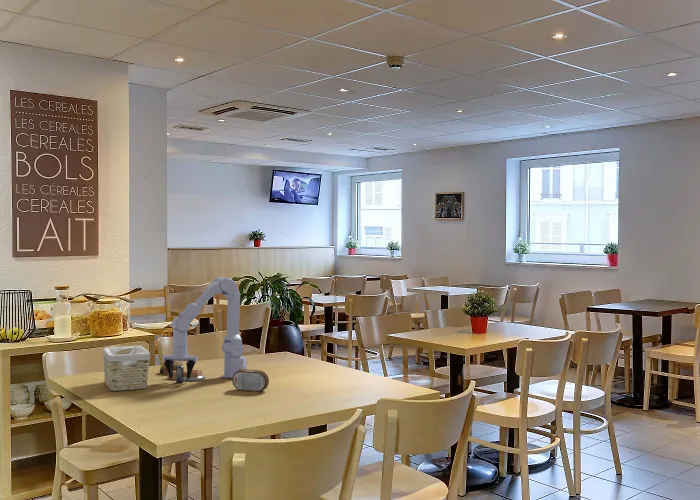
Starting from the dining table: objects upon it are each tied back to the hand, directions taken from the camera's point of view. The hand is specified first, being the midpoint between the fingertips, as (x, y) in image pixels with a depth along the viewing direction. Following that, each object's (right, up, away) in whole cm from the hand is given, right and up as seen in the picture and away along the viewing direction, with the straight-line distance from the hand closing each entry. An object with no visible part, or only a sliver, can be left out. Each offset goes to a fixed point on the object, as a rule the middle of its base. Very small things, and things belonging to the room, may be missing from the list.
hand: (179, 378), depth 277 cm
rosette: (+4, -2, +8) cm, 9 cm away
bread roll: (-9, -2, +21) cm, 23 cm away
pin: (0, -2, 0) cm, 2 cm away
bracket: (0, -2, +8) cm, 8 cm away
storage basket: (-21, -2, -6) cm, 22 cm away
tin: (+32, -3, -14) cm, 35 cm away
